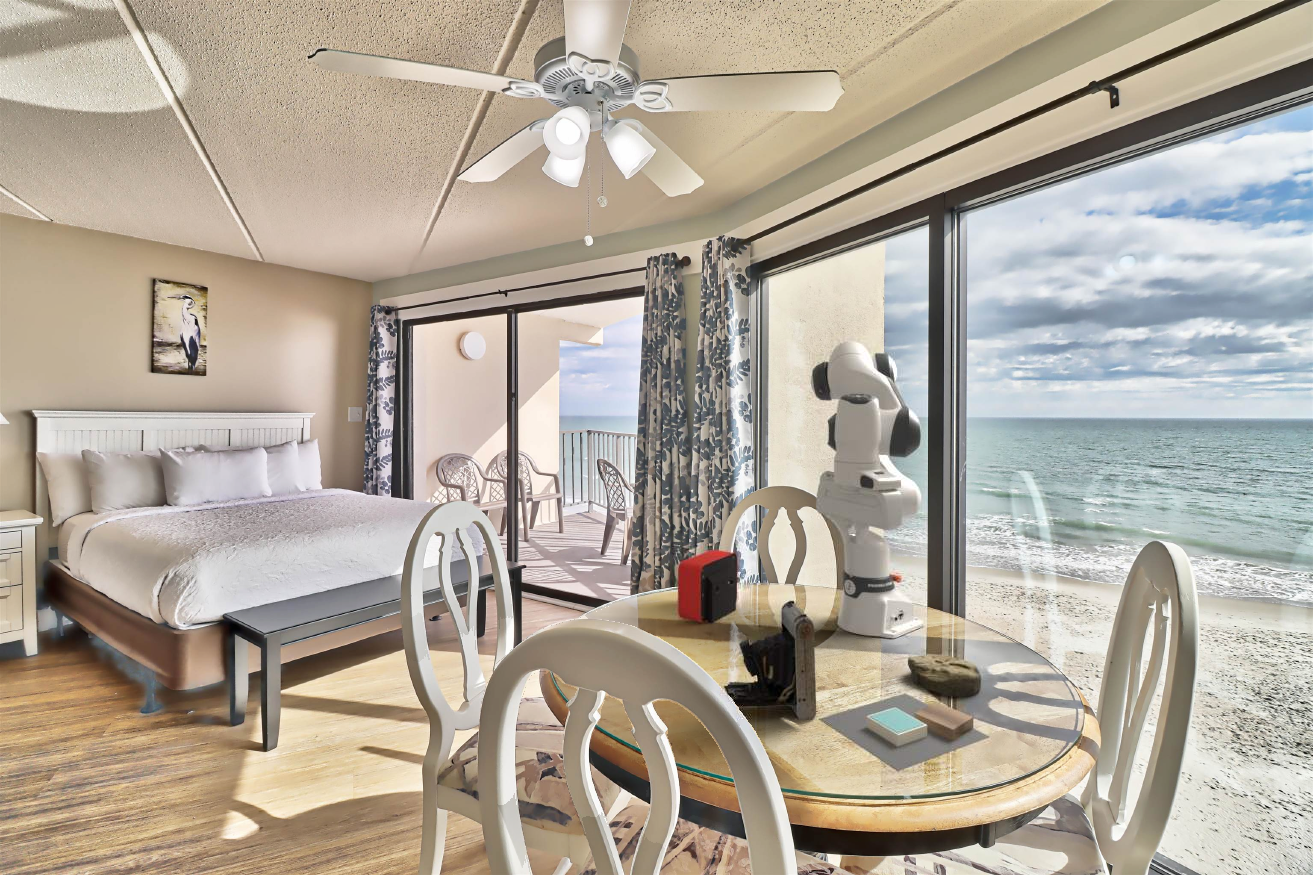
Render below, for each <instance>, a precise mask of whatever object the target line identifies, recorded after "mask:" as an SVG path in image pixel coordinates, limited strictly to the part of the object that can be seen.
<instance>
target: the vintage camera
mask: <svg viewBox="0 0 1313 875" xmlns="http://www.w3.org/2000/svg"><path fill="white" fill-rule="evenodd" d="M780 614H781V615H780V616H781V620H780V621H781V633H780V632H778V633H776V634H775V635H771V636H766V637H764V638H762V639H756V641H755V642H752V643H750V642H751V641H749V639H745V640H744V641H742V642H739V648H740V652H741V654H742V657H743V659H742V660H743V663H744V666H745V668H746V670H747V672H748V673H749V674H750V677H752V678H755V677H756V679H757V680H754V681H751V682H749V681H748V682H744V681H729V683H727V685H723V688H724V690H725V691H724V692H727V693H726V695H727V694H728V695H729V696H730V697H731V698H732V699H733V701H734V702H735V704H736V705H737V706H738V707H739V708H751V707H752V708H757V707H758V708H759V707H760V708H762V707H765V708H766V707H781V706H782V707H786V706H787V707H788V706H789V707H791V708H792V710H793V712H794V713H795V714H796V716H797V718H798V719H799V720H800V721H807V720H809V721H810V720H814V719H815V717H816V715H817V693H816V691H817V690H816V688H817V687H816V686H817V685H816V682H817V681H816V656H815V655H816V653H815V627H814V626H815V625H814V623H813V620H811V618H810V617H809V616H808V615H807V614H806V613H804V611H803V610H802V609H801V608H800V607H799V605H798V604H797V603H795V601H794V600H789V601H788V602H785V603H784V604H783V606H781V610H780ZM728 695H727V696H728ZM738 707H737V708H738Z"/></svg>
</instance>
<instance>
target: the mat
mask: <svg viewBox="0 0 1313 875" xmlns="http://www.w3.org/2000/svg"><path fill="white" fill-rule="evenodd" d="M929 705H930V704H929ZM929 705H928V704H927V703H926V702H923V701H921V700H919V699H917V698H915V697H913V696H911V695H910V694H908V693H902V694H899V695H896V696H891V697H887V698H885V699H881V700H878V701H875V702H870V703H868V704H864V705H861V706H856V707H855V708H851V709H848V710H843V711H841V712H838V713H834V714H831V715H826V716H824V717H821V718H819V720H820V721H821V722H823V723H825V725H828V726H829V727H831V729H833V730H834V731H836V732H838V733H839V734H841V735H842V736H845V738H847V739H849V741H851V742H853V743H855V744H856V745H857V746H859V747H860V748H862V749H864V750H866V751H867V752H868V753H870V754H871V755H873V756H874V757H876V758H877V759H879V760H880V761H882V762H883V763H885V764H886V765H889V767H891V768H892V769H894V770H895V771H897V772H899V771H902V770H904V769H908V768H910V767H912V766H915V765H918V764H922V763H923V762H926V761H929V760H931V759H933V758H937V757H939V756H942V755H944V754H945V755H946V754H948V753H950V752H953V751H956V750H958V749H961V748H964V747H967V746H969V745H972V744H975V743H977V742H980V741H983V740H985V739H988V738H990V736H989V735H987V734H986V733H984V732H982V731H980V730H978V729H976V728H974V727H973V729H971V730H969V731H968V732H966V733H965V734H963V735H962V736H960V737H958V738H957V739H955V740H954V741H952V740H949V739H947V738H945V737H943V736H940V735H938V734H936V733H934V732H931V731H929V730H927V737H924V738H921V739H918V740H915V741H912V742H910V743H907V744H904V745H901V746H896V745H895V744H893V743H891V742H890V741H888V740H886V739H885V738H883V737H882V736H880V735H878V734H877V733H875V732H873V731H872V730H870V729H869V728H867V727H866V719H867V716H869V715H872V714H875V713H879V712H882V711H885V710H888V709H892V708H897V709H899V710H901V711H902V712H904V713H906V714H908V715H910V716H912V717H913V718H915V713H916V712H918V711H920V710H921V709H923V708H925V707H927V706H929Z"/></svg>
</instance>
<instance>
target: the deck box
mask: <svg viewBox="0 0 1313 875" xmlns="http://www.w3.org/2000/svg"><path fill="white" fill-rule="evenodd" d="M866 727H867V728H869V729H870V730H872V731H873V732H875V733H877V734H878V735H880V736H882V737H883V738H885V739H886V740H888V741H890V742H891V743H893V744H895V745H896V746H901V745H904V744H907V743H910V742H912V741H915V740H918V739H921V738H924V737H927V725H926V724H924V723H923V722H921V721H919V720H917V719H915V718H913V717H912V716H910V715H908V714H906V713H904V712H902V711H901V710H899V709H897V708H892V709H888V710H885V711H882V712H879V713H875V714H872V715H869V716H867V719H866Z"/></svg>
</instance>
